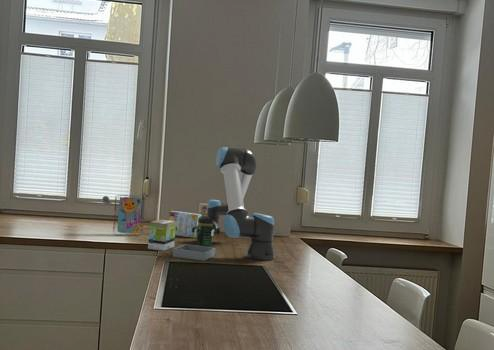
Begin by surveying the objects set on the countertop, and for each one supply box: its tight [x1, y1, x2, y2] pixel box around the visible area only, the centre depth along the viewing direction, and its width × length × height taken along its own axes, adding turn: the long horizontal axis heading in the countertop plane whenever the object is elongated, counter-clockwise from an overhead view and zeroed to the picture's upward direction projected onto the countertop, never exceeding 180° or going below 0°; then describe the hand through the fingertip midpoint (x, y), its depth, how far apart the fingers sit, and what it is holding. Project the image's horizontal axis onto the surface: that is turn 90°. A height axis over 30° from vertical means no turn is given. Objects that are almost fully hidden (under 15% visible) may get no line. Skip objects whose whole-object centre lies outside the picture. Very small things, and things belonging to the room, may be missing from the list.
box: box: [102, 194, 146, 237], centre depth 312 cm, size 25×6×24 cm, turn 113°
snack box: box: [168, 210, 202, 239], centre depth 329 cm, size 21×6×15 cm, turn 65°
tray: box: [172, 243, 217, 262], centre depth 266 cm, size 17×17×4 cm
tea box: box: [147, 219, 176, 252], centre depth 281 cm, size 15×10×15 cm
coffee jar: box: [196, 215, 213, 247], centre depth 285 cm, size 10×8×19 cm
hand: (203, 232), depth 280 cm, fingers closed on coffee jar, 8 cm apart
